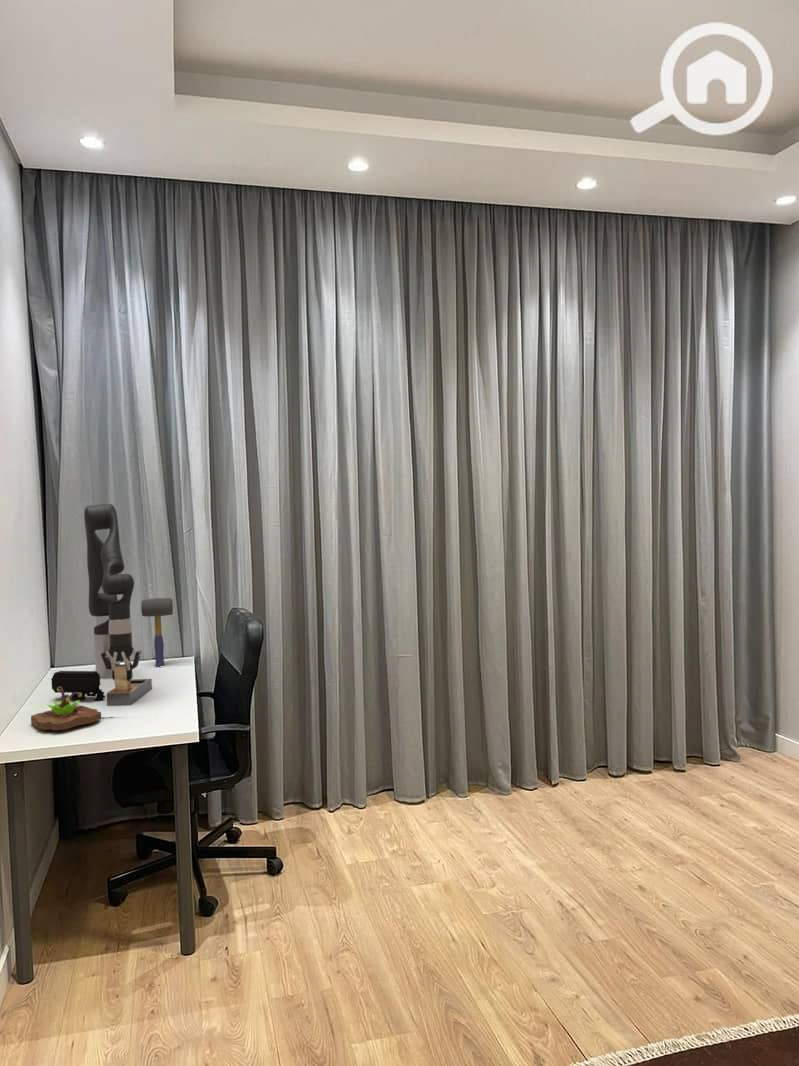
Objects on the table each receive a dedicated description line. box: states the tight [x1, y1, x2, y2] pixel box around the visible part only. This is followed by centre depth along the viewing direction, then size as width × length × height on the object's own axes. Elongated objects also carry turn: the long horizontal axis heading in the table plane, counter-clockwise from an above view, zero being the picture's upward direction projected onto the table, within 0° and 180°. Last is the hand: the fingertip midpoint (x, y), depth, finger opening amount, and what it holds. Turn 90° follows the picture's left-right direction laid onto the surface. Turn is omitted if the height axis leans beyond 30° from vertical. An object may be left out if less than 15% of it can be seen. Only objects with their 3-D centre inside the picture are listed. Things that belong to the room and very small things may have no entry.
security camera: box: [50, 670, 106, 702], centre depth 303 cm, size 7×18×10 cm, turn 79°
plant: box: [30, 686, 102, 731], centre depth 274 cm, size 20×20×11 cm
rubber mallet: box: [140, 597, 174, 668], centre depth 352 cm, size 12×8×30 cm, turn 101°
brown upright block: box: [114, 663, 131, 692], centre depth 297 cm, size 4×4×9 cm
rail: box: [106, 678, 153, 707], centre depth 305 cm, size 24×8×4 cm, turn 179°
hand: (122, 680), depth 297 cm, fingers closed on brown upright block, 4 cm apart
